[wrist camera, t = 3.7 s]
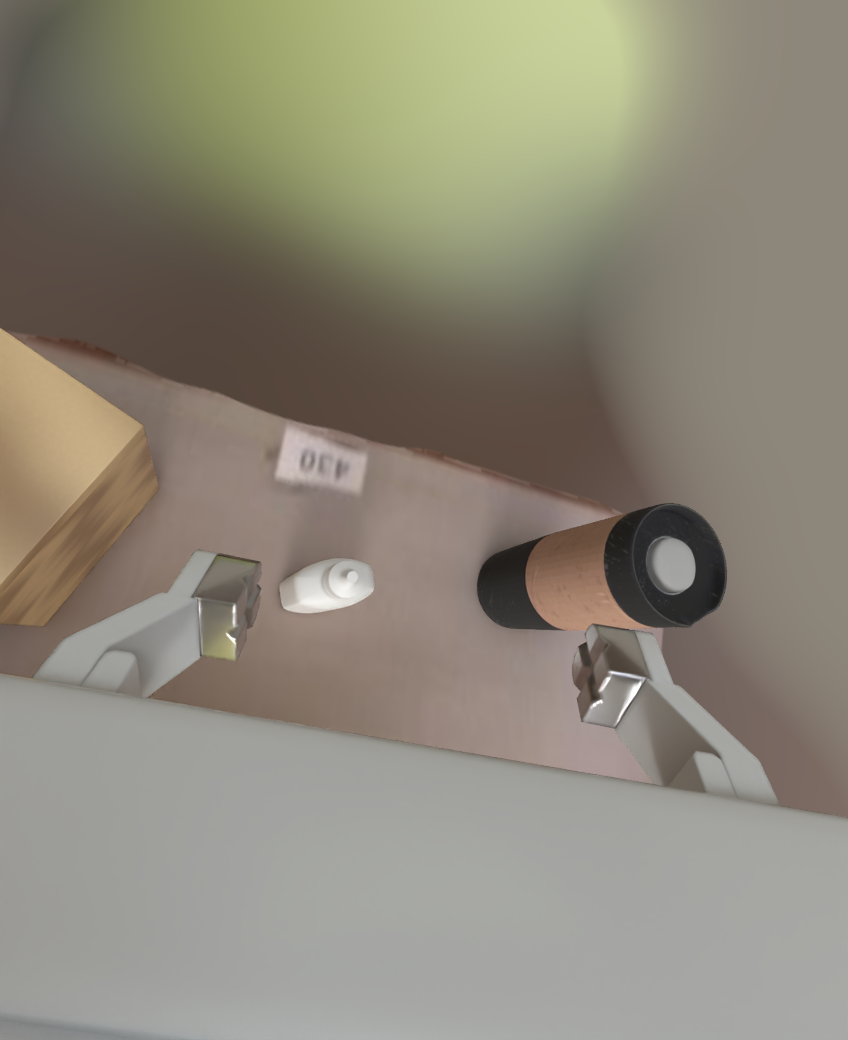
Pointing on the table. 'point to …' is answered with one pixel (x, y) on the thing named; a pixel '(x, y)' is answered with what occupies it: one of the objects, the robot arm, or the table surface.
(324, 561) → the eye dropper bottle
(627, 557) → the travel mug
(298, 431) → the table surface
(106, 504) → the plywood crate
